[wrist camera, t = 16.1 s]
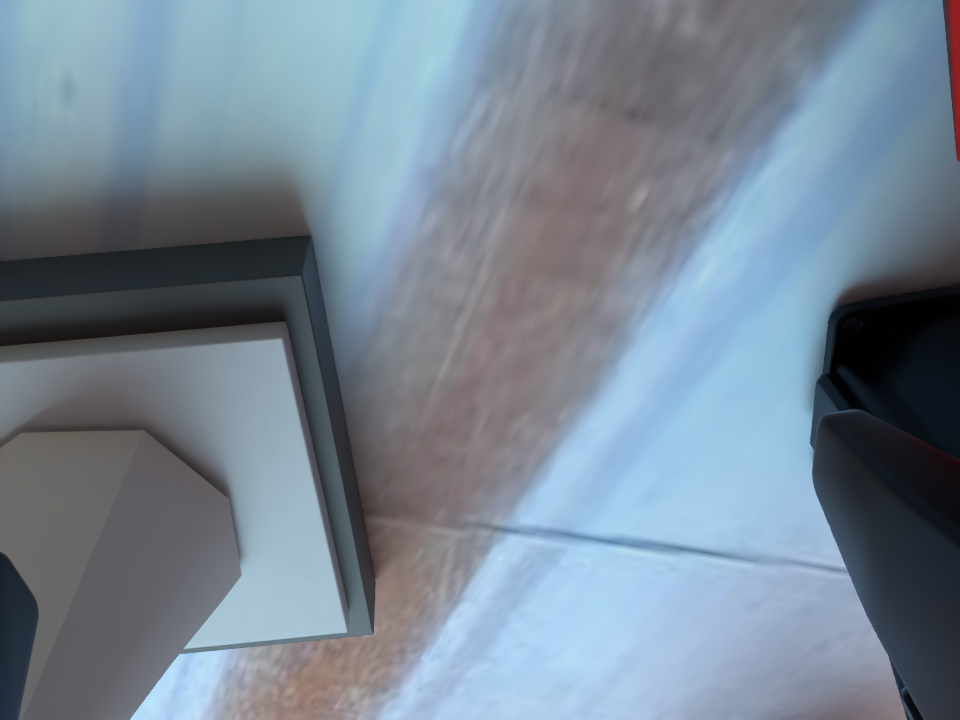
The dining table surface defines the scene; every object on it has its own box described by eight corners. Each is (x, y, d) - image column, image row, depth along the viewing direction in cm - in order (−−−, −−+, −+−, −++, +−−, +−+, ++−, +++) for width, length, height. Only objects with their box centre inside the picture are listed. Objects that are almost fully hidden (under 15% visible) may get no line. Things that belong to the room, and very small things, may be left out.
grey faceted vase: (56, 642, 24) (-124, 1072, 16) (-108, 464, 20) (-462, 912, 12) (286, 580, 24) (223, 994, 15) (162, 384, 20) (-14, 798, 11)
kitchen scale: (311, 234, 21) (298, 290, 19) (375, 582, 28) (373, 656, 26) (-208, 278, 21) (-293, 341, 18) (-9, 620, 28) (-50, 699, 25)
